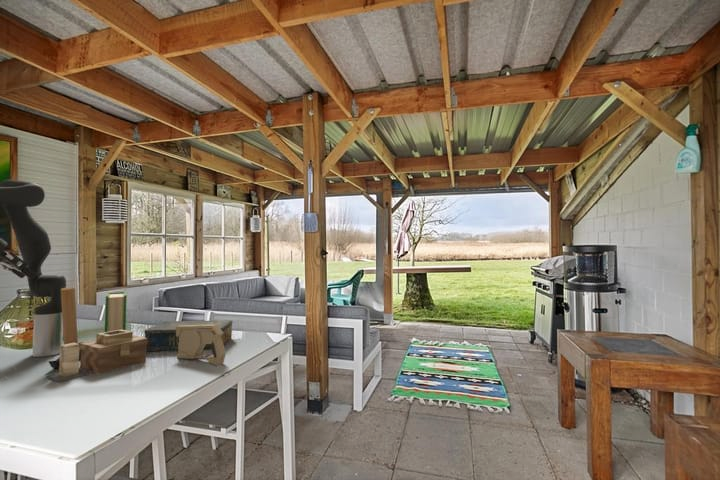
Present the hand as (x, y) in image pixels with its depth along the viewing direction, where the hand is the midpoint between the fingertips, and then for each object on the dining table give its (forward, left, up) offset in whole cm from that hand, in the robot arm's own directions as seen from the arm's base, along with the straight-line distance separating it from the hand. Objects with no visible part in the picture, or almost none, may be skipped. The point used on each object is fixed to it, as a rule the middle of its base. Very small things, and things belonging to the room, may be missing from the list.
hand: (29, 276), depth 114 cm
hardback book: (-22, +37, -35) cm, 55 cm away
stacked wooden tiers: (+6, +24, -35) cm, 42 cm away
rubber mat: (+6, +10, -35) cm, 36 cm away
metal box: (+6, +56, -35) cm, 66 cm away
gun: (+30, +43, -35) cm, 63 cm away
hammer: (-12, +17, -35) cm, 41 cm away
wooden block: (+6, +10, -34) cm, 36 cm away
